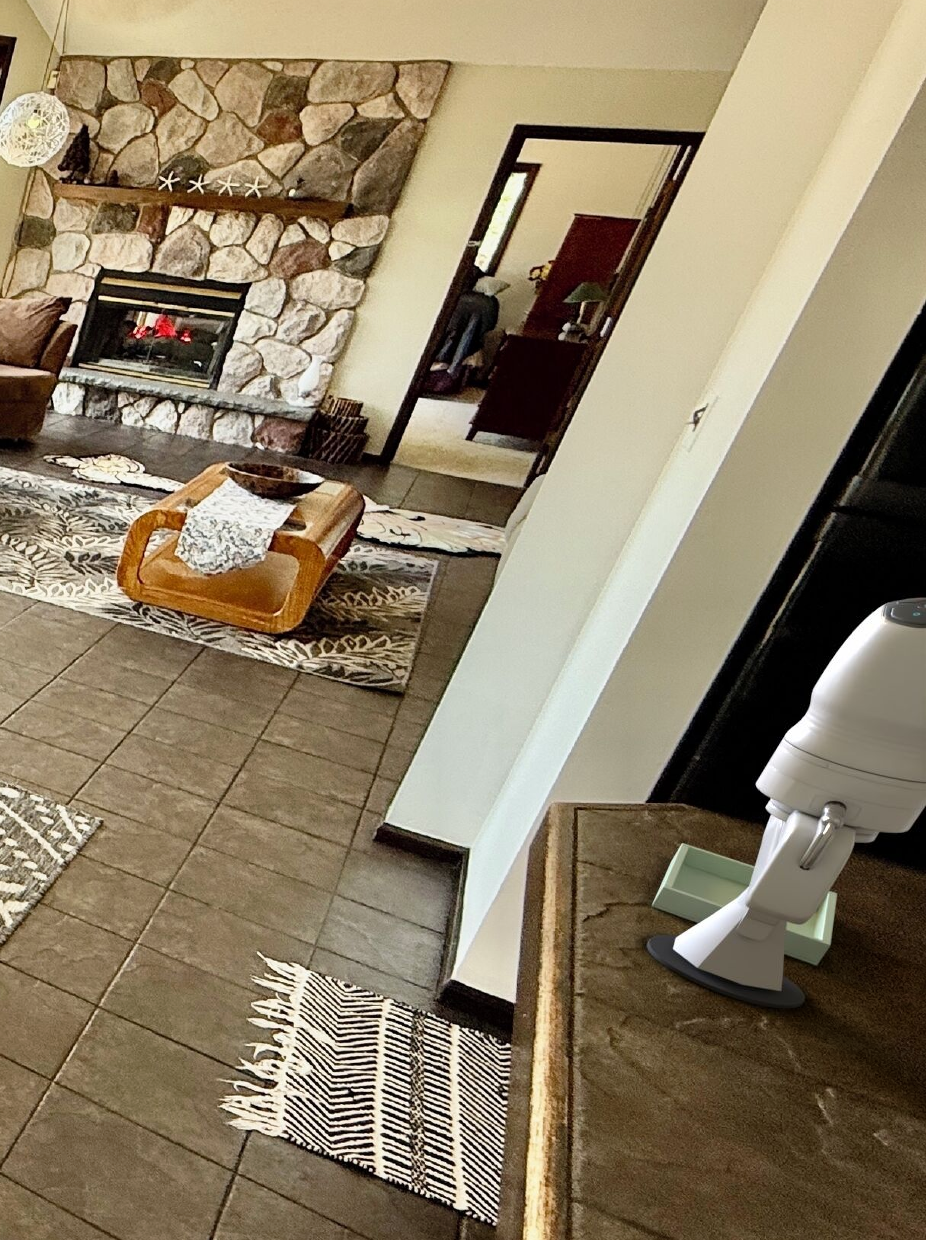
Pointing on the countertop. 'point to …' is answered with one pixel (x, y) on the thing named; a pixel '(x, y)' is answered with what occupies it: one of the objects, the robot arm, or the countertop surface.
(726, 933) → the flask
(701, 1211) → the countertop surface
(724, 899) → the tray
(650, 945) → the mat
